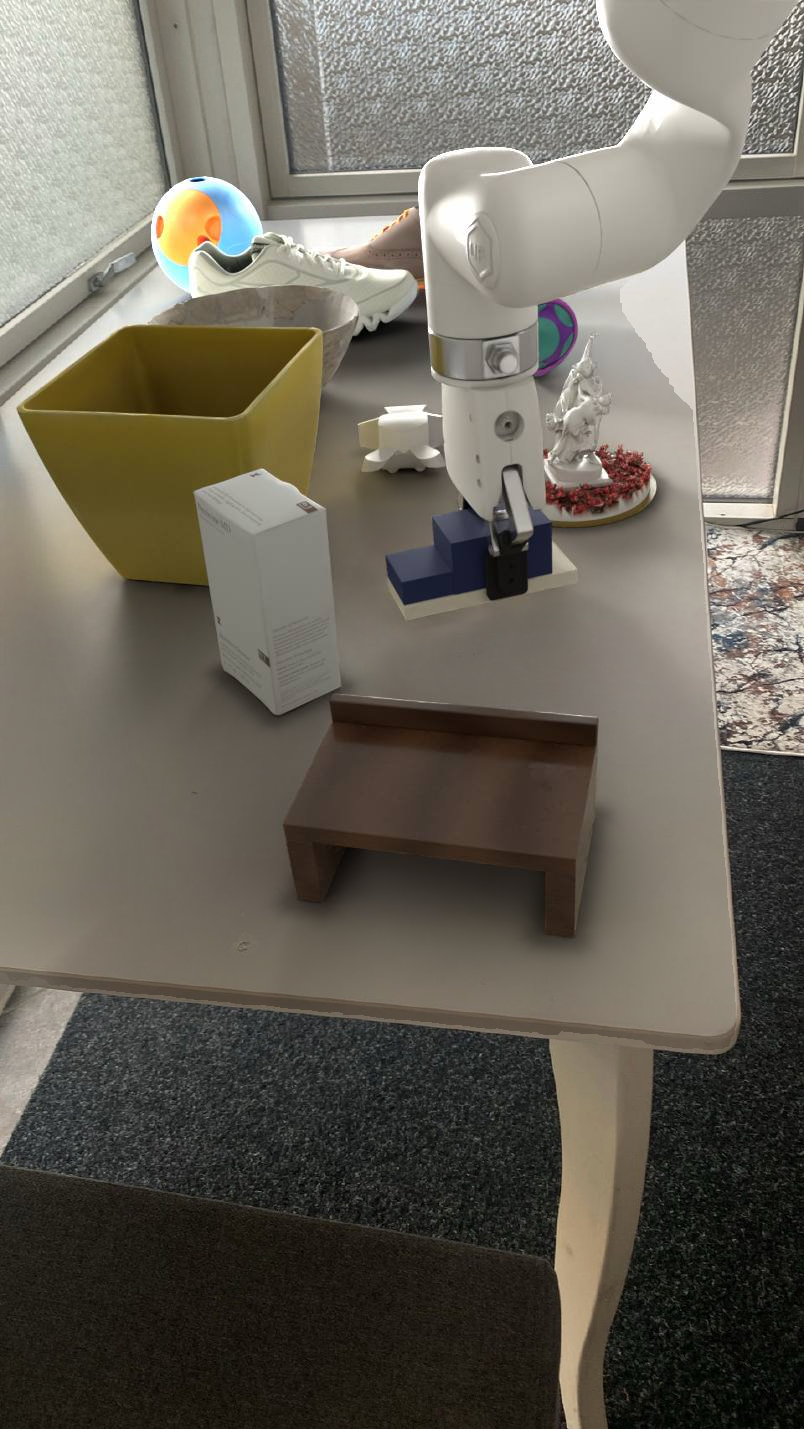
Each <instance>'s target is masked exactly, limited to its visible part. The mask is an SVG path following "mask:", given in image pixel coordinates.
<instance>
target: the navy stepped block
mask: <svg viewBox="0 0 804 1429" xmlns="http://www.w3.org/2000/svg"><path fill="white" fill-rule="evenodd" d="M527 506H528V504H527ZM493 508H494V512H496V511H501V510H506V506H505V503H502V504H498V506H497V507H493ZM528 509H529V513H530V517H531V521H532V525H533V535H532V536H531V537H530V538H529V539H528V550H527V566H528V591H527V592H526V593H525V594H521V595H517V596H512V597H508V598H503V599H499V600H494V601H491V600H489V598H488V597H487V595H486V576H485V556H484V552H488V551H489V547H488V540H487V534H486V527H485V520H484V519H483V518H482V517H480V516H479V515H478V514H477V513H476V512H475V510H474V509H473V508H469V509H464V510H459V511H458V510H455V511H450V512H445V513H440V514H436V515H432V516H431V527H432V539H433V544H431V545H430V544H429V545H424V546H420V547H415V548H411V549H406V550H401V551H396V552H391V553H386V554H384V556H385V566H386V574H387V575H386V581H387V582H386V584H387V589H388V591H389V592H390V594H391V596H392V598H393V600H394V602H395V603H396V605H397V607H398V609H399V611H400V613H401V614H402V616H403V617H404V620H405V621H412V620H416V619H420V618H425V617H431V616H434V615H435V616H436V615H438V614H445V613H448V612H453V611H457V610H461V609H466V608H471V607H475V606H479V605H484V604H489V603H493V602H497V601H501V600H506V599H510V598H515V597H519V596H524V595H525V596H526V595H529V594H533V593H538V592H543V591H547V590H551V589H556V588H560V587H564V586H568V585H574V584H578V580H579V578H578V576H579V575H578V568H577V567H576V566H575V565H574V564H573V562H572V561H571V560H570V559H569V558H568V557H567V555H565V554H564V552H563V551H562V549H560V548H559V546H558V545H557V544H556V543H555V542H554V541H553V526H552V522H551V521H550V520H549V519H548V517H547V516H546V515H545V514H544V513H543V512H542V511H533V510H532V509H531V508H530V507H529V506H528ZM496 524H497V531H498V537H499V535H500V534H501V532H502V531H503V530H507V529H508V526H509V520H504V521H499V522H496Z"/></svg>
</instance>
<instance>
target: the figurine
mask: <svg viewBox="0 0 804 1429" xmlns="http://www.w3.org/2000/svg"><path fill="white" fill-rule="evenodd" d="M599 336H600V334H599V333H598V331H596V332H595V331H594V332H592V333H591V334H590V336H589V340H588V341H587V344H586V346H585V348H584V352H583V355H582V357H581V360H579V361H578V363H575V364H573V365H571V370H570V372H569V373H568V377H567V378H566V380H565V382H564V384H563V387H562V390H561V395H560V396H559V399H558V401H557V403H556V405H555V407H554V409H553V413H552V412H551V413H548V412H547V413H546V414H545V424H546V427H547V428H548V430H549V431H550V432H553V433H554V434H555V444H554V447H553V449H552V450H551V451H550V450H549V449H547V448H545V449H543V458H544V474H545V494H546V503H545V506H544V508H543V510H542V512H543V513H544V514H545V515H546V516H547V517H548V519H549V520H550V521H551V522H552V527H556V528H586V527H595V526H602V525H603V526H604V525H607V524H612V523H616V522H619V521H622V520H626V519H628V518H630V517H633V516H635V515H637V514H638V513H640V512H642V511H643V510H645V509H646V508H647V507H648V506H649V505H650V504H651V503H652V502H653V501H654V499H655V497H656V494H657V487H658V486H657V481H656V479H655V477H654V476H653V474H652V464H651V463H650V462H648V463H647V462H646V461H644V452H642V451H641V452H640V453H639V451H637V450H635V451H633V450H631V451H629V449H627V450H626V451H625V450H624V449H623V443H621V444H620V445H618V446H617V450H614V451H613V452H609V451H608V448H609V447H610V446H609V444H608V443H605V444H604V445H603V444H602V445H600V446H599V448H598V449H597V447H598V444H599V439H600V438H599V437H600V426H601V422H602V419H603V416H607V415H609V413H610V411H611V410H610V409H611V404H612V396H613V395H612V393H611V392H608V393H607V394H606V395H605V394H604V395H602V394H603V379H602V378H601V377H599V376H595V375H594V373H595V369H597V368H598V362H592V361H593V358H592V356H591V355H590V354H591V350H592V346H593V345H592V344H593V341H594V339H596V338H598V337H599ZM596 383H597V384H598V387H597V391H595V384H596ZM590 426H592V427H593V431H592V430H591V429H590ZM590 435H593V444H592V442H591V441H592V440H591V436H590ZM596 449H597V450H596ZM624 451H625V453H624Z"/></svg>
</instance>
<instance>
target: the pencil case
mask: <svg viewBox="0 0 804 1429" xmlns="http://www.w3.org/2000/svg"><path fill="white" fill-rule="evenodd" d="M537 307H538V363H539V367H538V370H537V371H536V372H535V373H534V374H533V375H532V376H533V377H542V376H544V375H546V374H548V373H550V372H551V371H553V370H554V369H555V368H557V367H558V366H559V365H560V364H561V363H563V362H564V361H565V359H566V358H567V357H568V356H569V355H570V353H571V351H572V350H573V349H574V347H575V345H576V342H577V339H578V336H579V335H578V334H579V324H578V320H577V315H576V313H575V312H574V310H573V309H572V308H571V306H570V305H569V304H568V303H566V302H565V301H564V300H563V299H562V298H559V299H555V300H552V301H549V302H546V303H542V304H539V305H537Z"/></svg>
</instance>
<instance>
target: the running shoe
mask: <svg viewBox="0 0 804 1429" xmlns="http://www.w3.org/2000/svg"><path fill="white" fill-rule="evenodd" d="M308 250H309V249H306V248H305V247H304V246H303V245H302V244H299V243H298V244H296V243H294V242H293V238H292V237H291V236H288V237H287V236H286V235H284V234H277V233H275V232H265V233H264V234H263V236H260V235H257V236H255V237H254V238H253V240H252V244H251V247H249V248H248V249H247V250H245V251H244V252H243V253H241V254H238V255H234V256H231V255H227V254H225V253H223V252H222V251H221V250H219V249H218V248H217V247H216V246H215V245H214V244H212V243H211V242H209V241H206V242H203V243H202V244H201V245H200V246H198V247H197V248H196V249H195V250H194V252H193V253H192V254H191V256H190V259H189V280H190V292H191V293H190V295H191V298H195V297H201V296H204V295H211V294H217V293H221V292H226V291H231V290H236V289H243V288H249V287H252V288H257V287H265V286H274V285H310V286H316V287H322V288H328V289H330V290H333V291H336V292H339V293H341V294H345V295H347V296H348V297H350V298H351V299H352V300H353V301H354V302H355V303H356V304H357V305H358V307H359V319H358V322H357V325H356V328H355V331H354V333H353V335H352V337H358V336H359V335H360V333H361V332H362V330H363V329H364V327H365V330H368V332H373V331H376V330H377V329H378V325H379V324H380V322H382V323H385V324H387V323H389V322H391V321H393V320H395V319H396V318H398V317H399V316H400V315H402V314H403V313H404V312H405V311H406V310H407V309H408V308H410V307H411V305H412V304H413V303H414V301H416V300H417V299H418V297H419V291H420V290H419V288H418V283H417V281H416V280H415V279H414V277H413V275H412V274H411V273H410V272H408V271H406V270H379V269H370V268H365V267H363V266H360V265H354V264H351V263H348V262H345V260H344V259H340V260H337V259H334V258H331V257H330V255H328V254H326V255H322V254H319V253H318V250H317V249H314V250H313V252H311V251H308Z"/></svg>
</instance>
